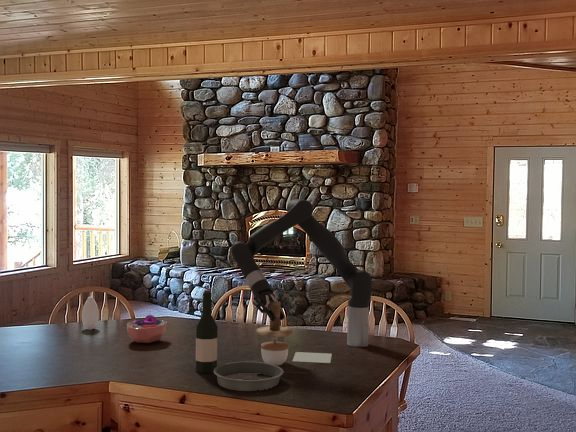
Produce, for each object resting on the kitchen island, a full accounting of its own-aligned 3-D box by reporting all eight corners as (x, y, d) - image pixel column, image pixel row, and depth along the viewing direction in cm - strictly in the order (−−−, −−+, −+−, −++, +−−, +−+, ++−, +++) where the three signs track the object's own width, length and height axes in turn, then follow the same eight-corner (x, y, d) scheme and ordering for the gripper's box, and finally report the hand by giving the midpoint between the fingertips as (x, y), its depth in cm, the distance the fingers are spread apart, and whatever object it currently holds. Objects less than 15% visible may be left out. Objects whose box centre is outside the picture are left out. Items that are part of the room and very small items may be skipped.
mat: (331, 354, 276) (331, 353, 276) (330, 363, 261) (330, 362, 261) (295, 352, 278) (295, 352, 278) (292, 362, 263) (292, 361, 263)
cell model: (116, 344, 286) (116, 318, 286) (143, 335, 305) (143, 311, 304) (149, 349, 280) (150, 322, 280) (175, 339, 298) (175, 314, 298)
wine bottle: (213, 374, 244) (214, 292, 243) (191, 372, 246) (192, 291, 244) (220, 368, 252) (221, 289, 251) (199, 366, 254) (200, 288, 253)
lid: (294, 330, 265) (295, 300, 264) (290, 337, 251) (291, 306, 251) (259, 328, 266) (260, 298, 266) (253, 335, 253) (254, 304, 252)
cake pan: (257, 397, 218) (257, 384, 218) (198, 384, 231) (199, 372, 231) (296, 380, 239) (296, 368, 239) (240, 369, 252) (240, 357, 252)
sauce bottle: (96, 331, 312) (96, 292, 311) (79, 330, 312) (79, 292, 311) (100, 327, 320) (101, 290, 319) (84, 327, 320) (84, 290, 319)
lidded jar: (290, 362, 263) (291, 338, 263) (284, 369, 253) (285, 344, 252) (264, 359, 266) (265, 336, 265) (257, 366, 255) (257, 342, 255)
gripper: (249, 279, 258) (269, 315, 250) (276, 277, 268) (296, 311, 260) (240, 291, 262) (260, 327, 254) (267, 288, 272) (287, 323, 264)
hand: (278, 319), depth 257 cm, fingers closed on lid, 4 cm apart
